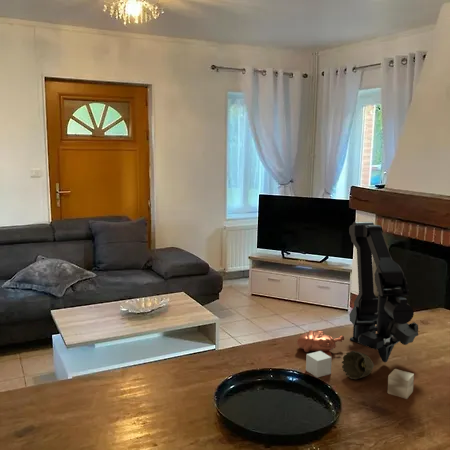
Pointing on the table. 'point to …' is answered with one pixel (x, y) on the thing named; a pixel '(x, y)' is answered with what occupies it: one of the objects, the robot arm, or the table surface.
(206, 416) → the table surface
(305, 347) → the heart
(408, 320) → the robot arm
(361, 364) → the cup
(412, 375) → the birch block
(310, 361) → the grey block
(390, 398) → the table surface
